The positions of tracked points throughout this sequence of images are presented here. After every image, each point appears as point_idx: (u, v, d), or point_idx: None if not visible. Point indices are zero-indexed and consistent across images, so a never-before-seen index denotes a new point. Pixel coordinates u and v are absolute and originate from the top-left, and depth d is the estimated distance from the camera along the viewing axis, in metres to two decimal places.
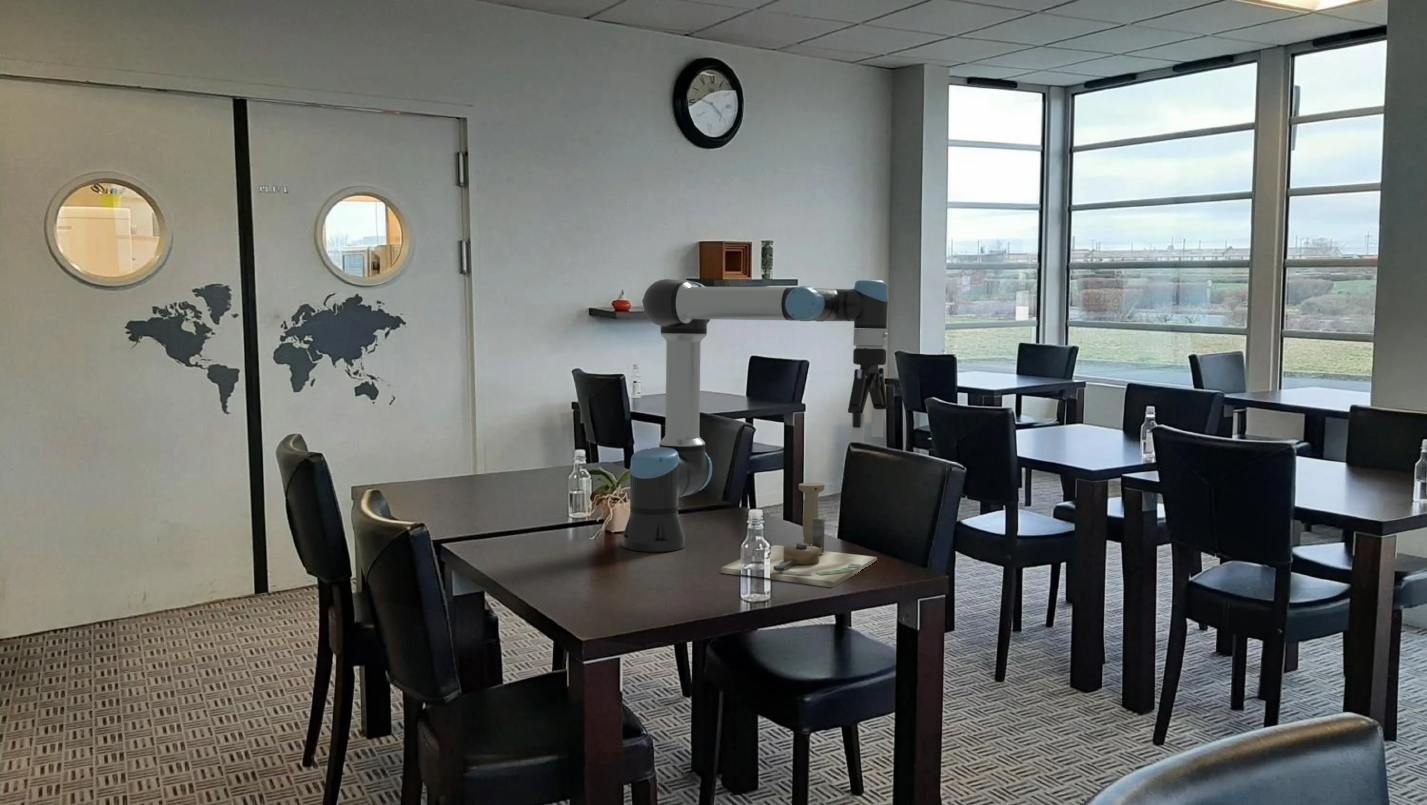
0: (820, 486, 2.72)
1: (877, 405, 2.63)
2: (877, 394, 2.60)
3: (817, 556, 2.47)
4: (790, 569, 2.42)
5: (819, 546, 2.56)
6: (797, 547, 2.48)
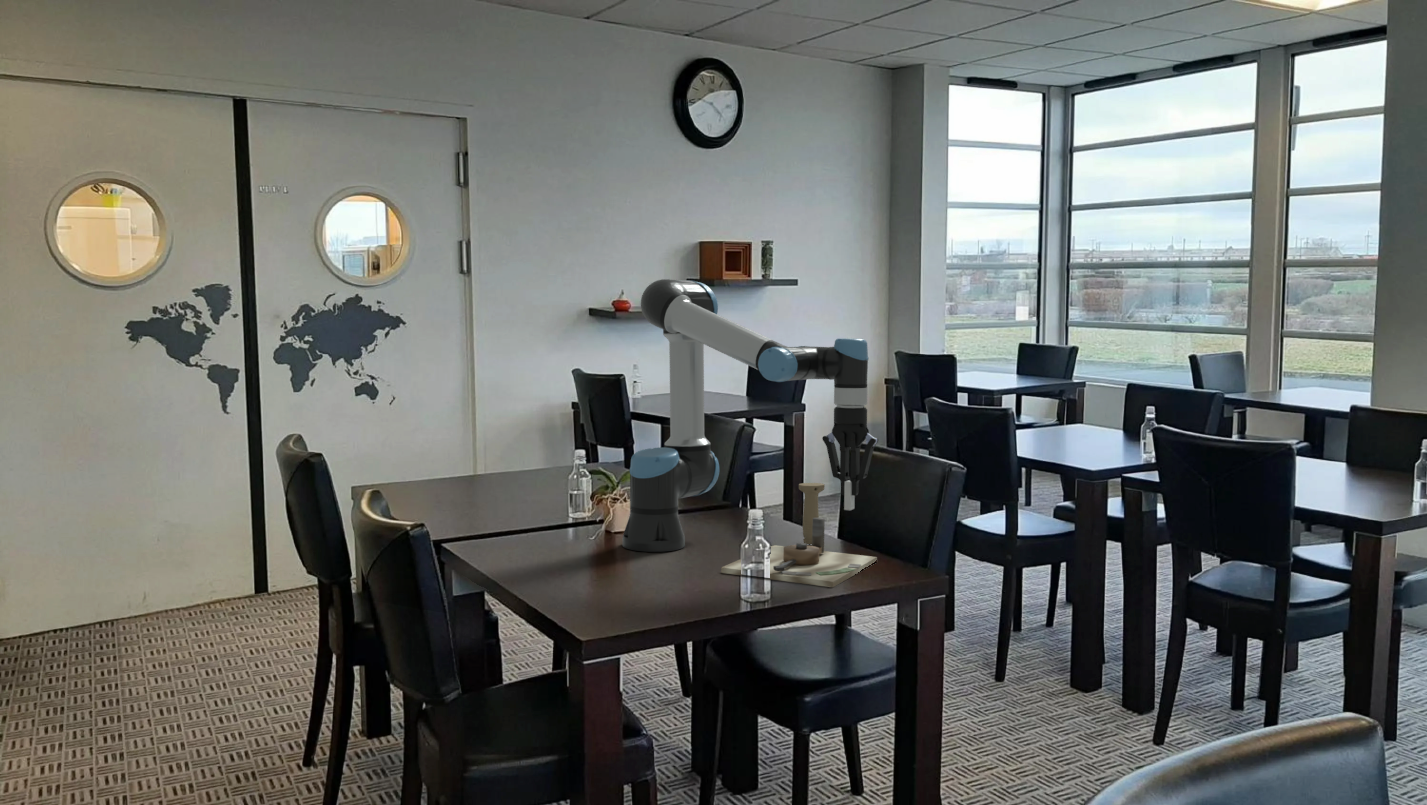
0: (820, 486, 2.72)
1: (846, 476, 2.54)
2: (848, 458, 2.54)
3: (817, 556, 2.47)
4: (790, 569, 2.42)
5: (819, 546, 2.56)
6: (797, 547, 2.48)
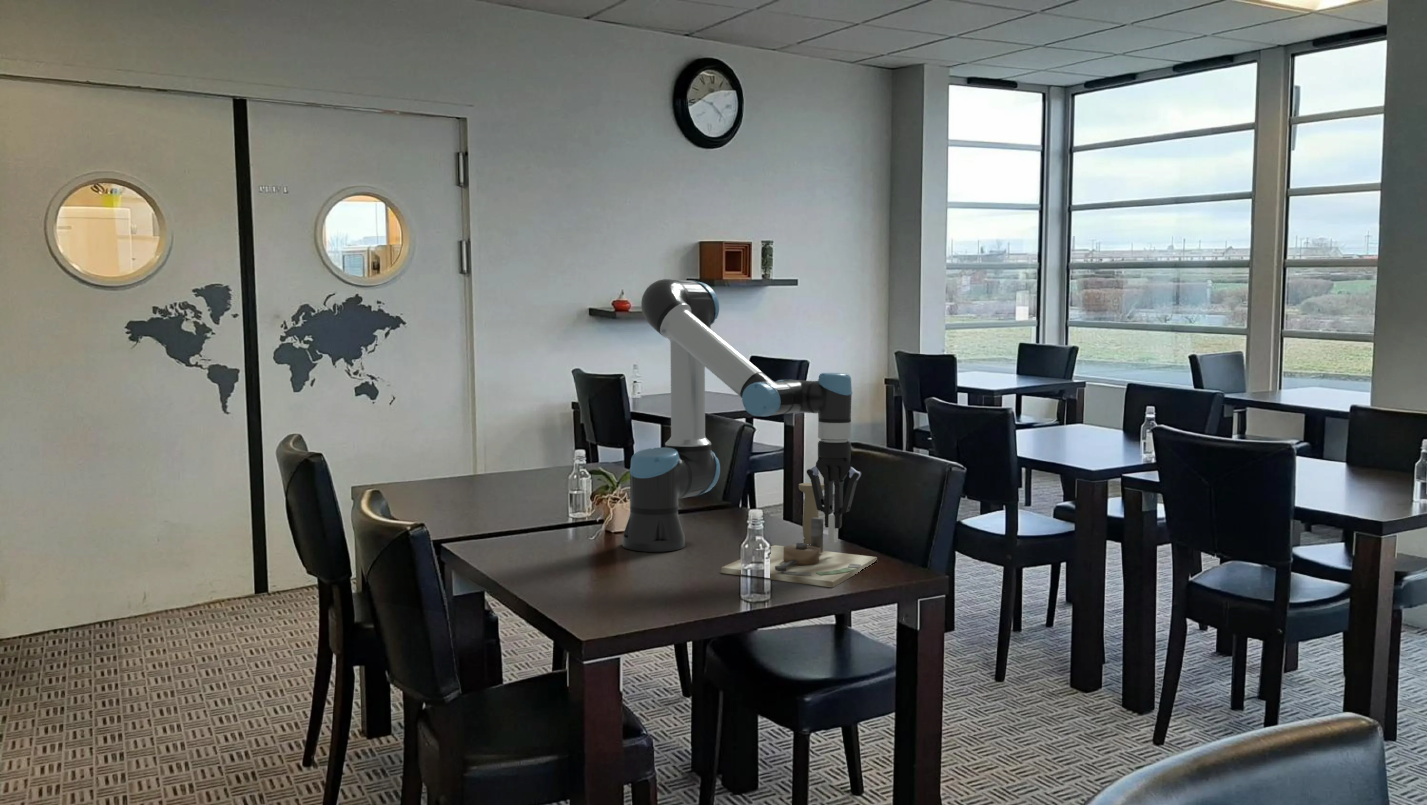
0: None
1: (830, 510, 2.56)
2: (832, 491, 2.57)
3: (817, 556, 2.47)
4: (790, 569, 2.42)
5: (818, 546, 2.56)
6: (797, 547, 2.48)
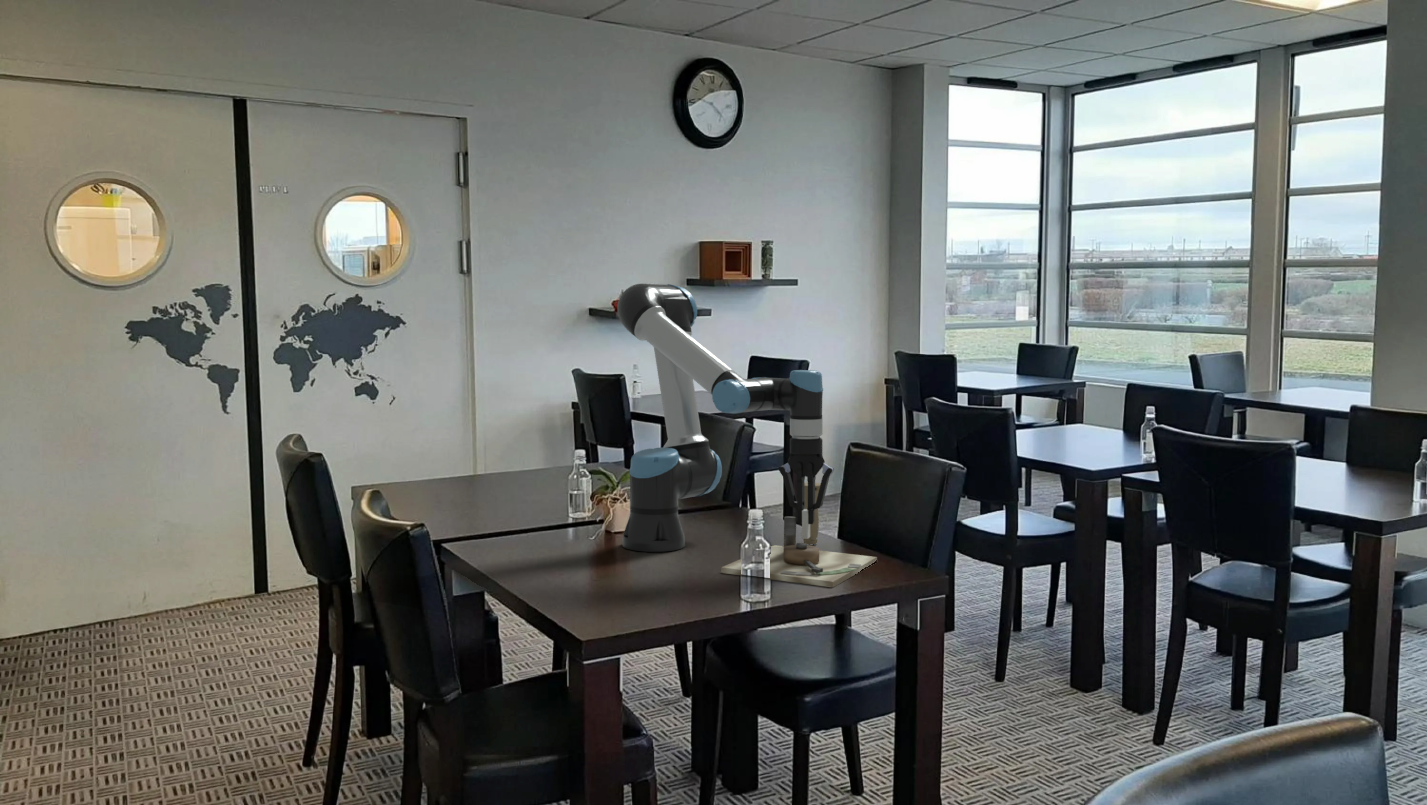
0: None
1: (802, 506, 2.58)
2: (804, 487, 2.59)
3: None
4: (790, 569, 2.42)
5: (794, 544, 2.58)
6: (800, 547, 2.48)
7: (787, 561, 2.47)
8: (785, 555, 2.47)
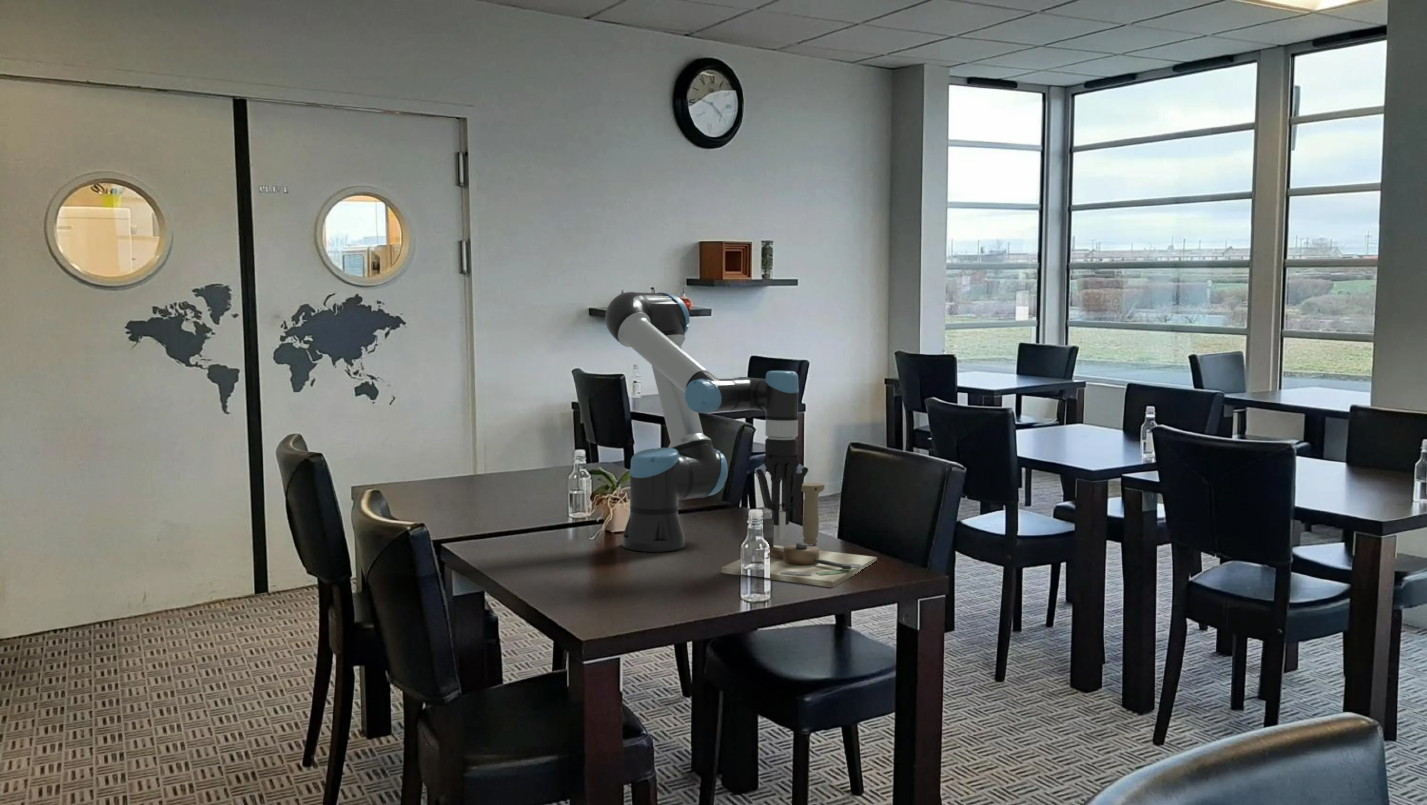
0: (820, 486, 2.72)
1: None
2: None
3: None
4: (790, 569, 2.42)
5: None
6: (803, 547, 2.48)
7: (796, 563, 2.45)
8: (793, 557, 2.46)
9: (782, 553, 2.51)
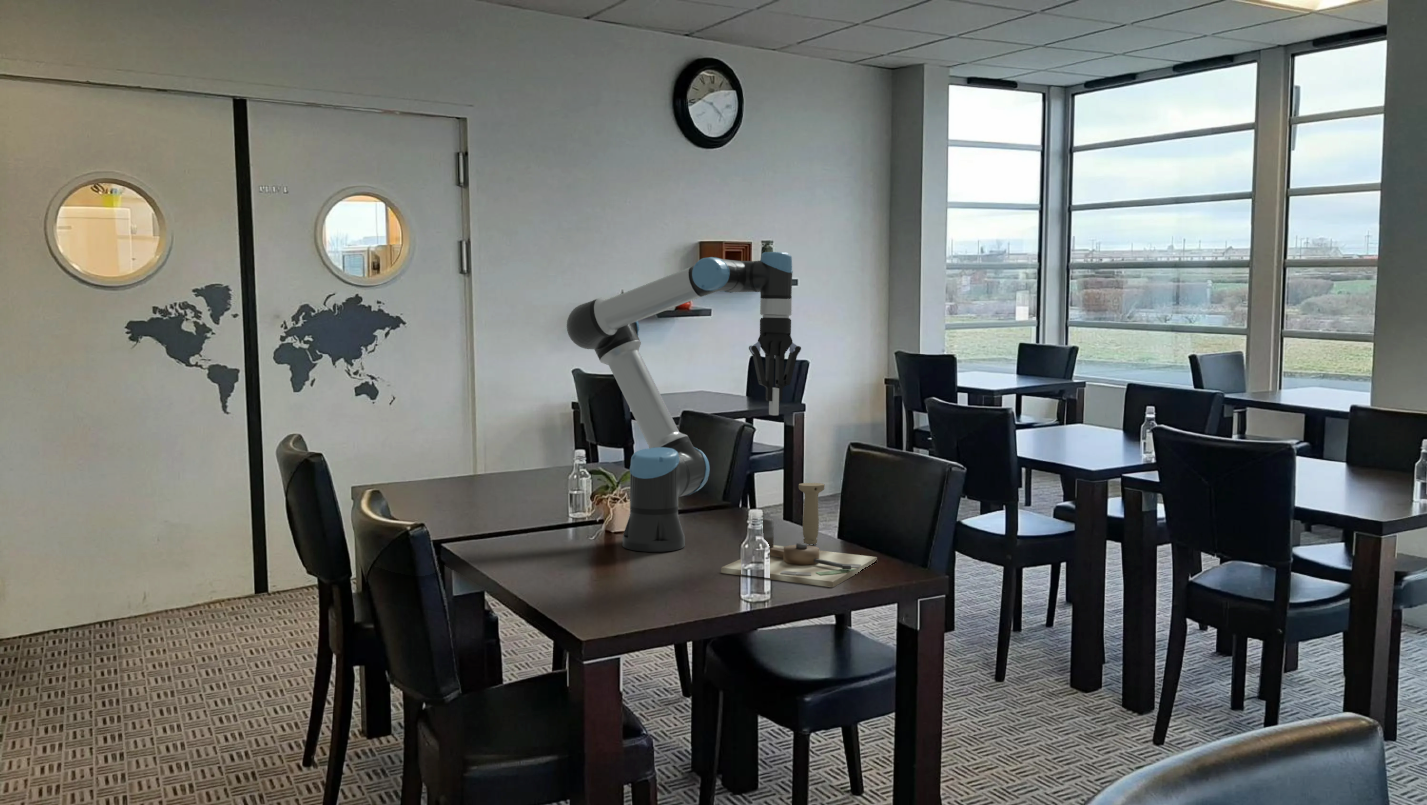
0: (820, 486, 2.72)
1: None
2: None
3: None
4: (790, 569, 2.42)
5: None
6: (803, 547, 2.48)
7: (796, 563, 2.45)
8: (793, 557, 2.46)
9: (782, 553, 2.51)
